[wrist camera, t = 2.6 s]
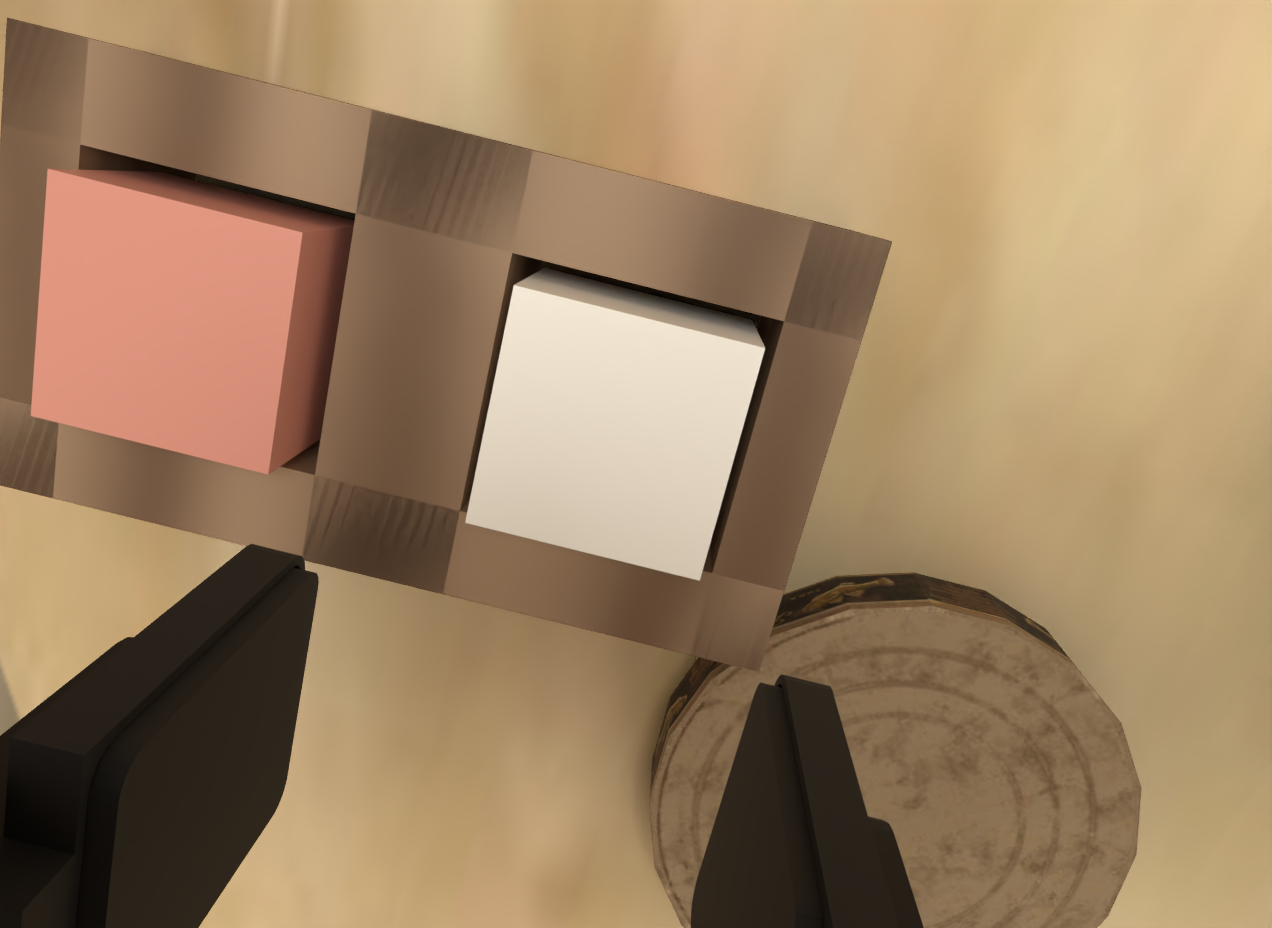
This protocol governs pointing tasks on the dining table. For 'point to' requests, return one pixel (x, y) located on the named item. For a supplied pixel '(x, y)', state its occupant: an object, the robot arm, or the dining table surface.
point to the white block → (614, 421)
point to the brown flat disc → (928, 751)
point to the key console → (431, 338)
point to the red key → (187, 315)
